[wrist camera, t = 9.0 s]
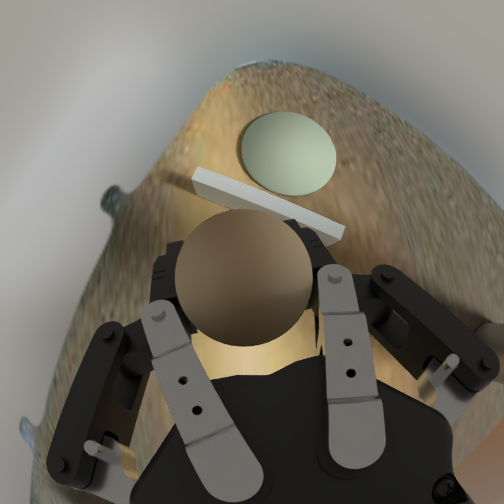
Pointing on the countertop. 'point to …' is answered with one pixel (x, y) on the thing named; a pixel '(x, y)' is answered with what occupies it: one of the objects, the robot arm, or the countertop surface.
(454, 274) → the countertop surface
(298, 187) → the sage mat
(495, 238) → the countertop surface
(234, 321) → the beech cylinder
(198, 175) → the frosted wall
